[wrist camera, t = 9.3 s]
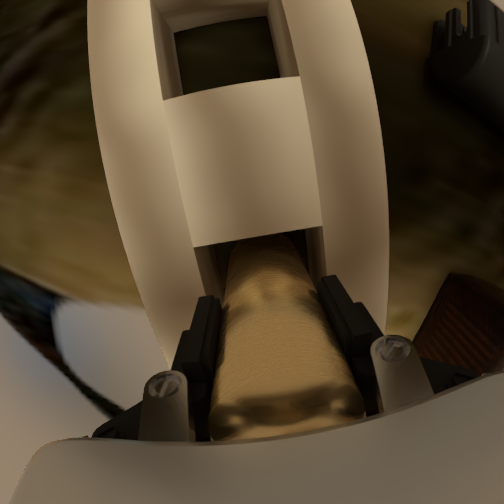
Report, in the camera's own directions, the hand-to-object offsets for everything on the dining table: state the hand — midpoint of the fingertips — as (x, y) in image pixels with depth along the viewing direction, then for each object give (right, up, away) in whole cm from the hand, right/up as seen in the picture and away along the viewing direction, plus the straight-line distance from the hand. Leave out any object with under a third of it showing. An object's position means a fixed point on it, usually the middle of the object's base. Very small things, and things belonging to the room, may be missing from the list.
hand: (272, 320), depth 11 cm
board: (-1, +8, +5) cm, 9 cm away
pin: (0, +2, +5) cm, 6 cm away
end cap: (+16, +15, +3) cm, 22 cm away
